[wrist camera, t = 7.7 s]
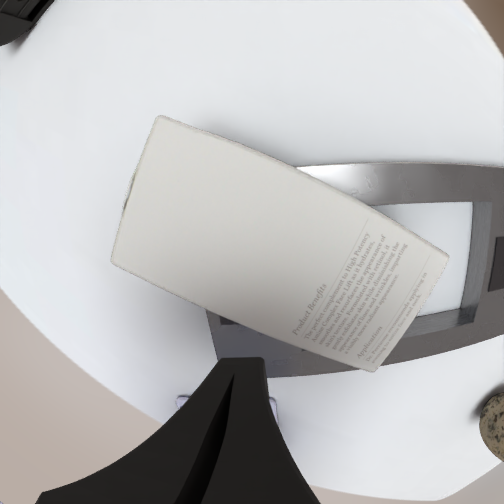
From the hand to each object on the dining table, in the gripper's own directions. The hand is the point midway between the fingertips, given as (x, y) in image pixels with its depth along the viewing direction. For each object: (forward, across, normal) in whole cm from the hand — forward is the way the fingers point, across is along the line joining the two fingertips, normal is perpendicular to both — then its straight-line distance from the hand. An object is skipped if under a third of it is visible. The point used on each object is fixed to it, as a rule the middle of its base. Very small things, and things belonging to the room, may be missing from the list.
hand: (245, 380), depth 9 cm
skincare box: (+4, -7, 0) cm, 8 cm away
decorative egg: (+9, -24, +18) cm, 31 cm away
